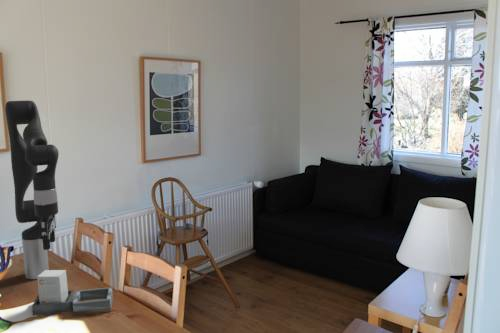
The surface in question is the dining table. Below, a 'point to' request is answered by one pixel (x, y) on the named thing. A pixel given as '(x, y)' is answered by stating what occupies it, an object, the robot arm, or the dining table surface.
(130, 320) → the dining table surface
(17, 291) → the dining table surface
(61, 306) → the socket
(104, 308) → the frame
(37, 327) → the dining table surface
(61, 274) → the small box
